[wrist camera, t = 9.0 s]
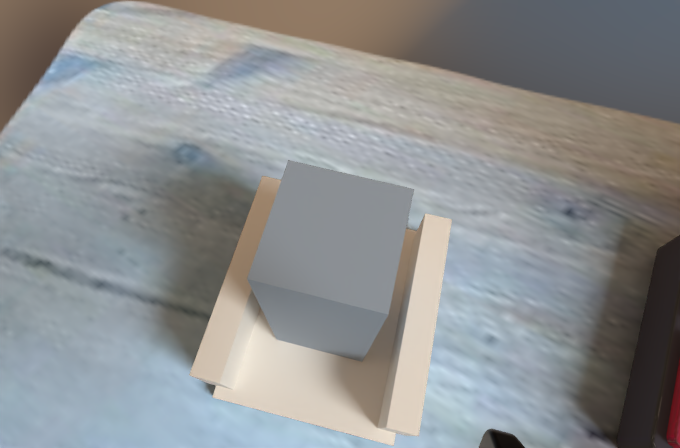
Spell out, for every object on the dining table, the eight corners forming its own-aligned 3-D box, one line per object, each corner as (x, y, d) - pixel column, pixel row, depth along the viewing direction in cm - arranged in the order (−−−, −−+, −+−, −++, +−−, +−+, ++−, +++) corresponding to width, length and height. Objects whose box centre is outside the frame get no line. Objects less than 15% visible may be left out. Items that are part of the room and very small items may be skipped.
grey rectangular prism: (361, 361, 20) (388, 314, 12) (276, 339, 21) (246, 279, 12) (380, 279, 22) (414, 189, 14) (300, 259, 22) (288, 160, 14)
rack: (400, 447, 20) (416, 450, 16) (206, 396, 20) (184, 388, 17) (435, 240, 24) (453, 209, 20) (273, 202, 24) (265, 166, 21)
